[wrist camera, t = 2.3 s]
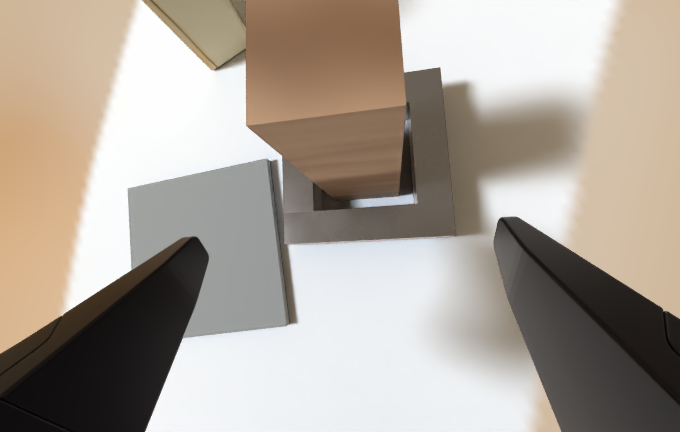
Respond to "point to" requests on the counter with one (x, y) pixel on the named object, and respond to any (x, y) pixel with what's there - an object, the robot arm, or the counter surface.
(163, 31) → the counter surface
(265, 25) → the walnut peg
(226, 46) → the skincare box
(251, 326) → the mat
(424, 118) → the collar
